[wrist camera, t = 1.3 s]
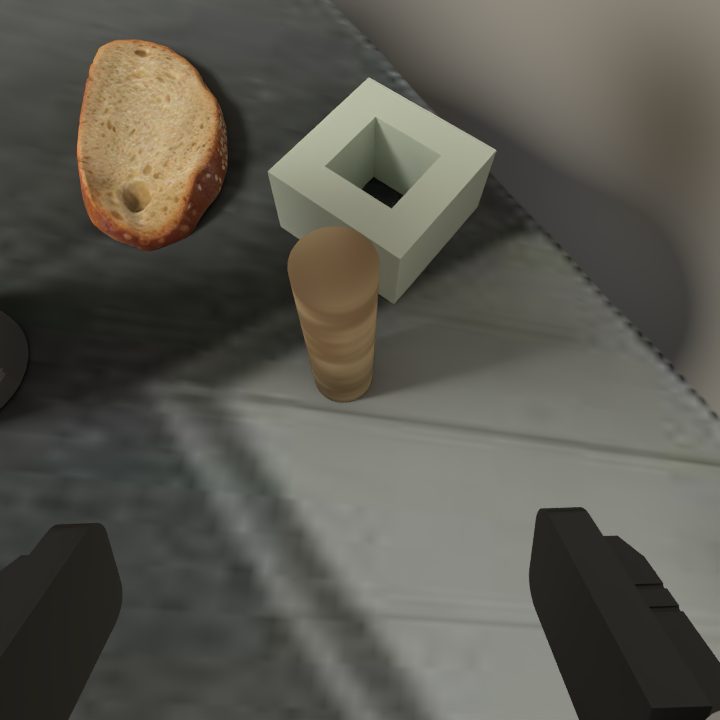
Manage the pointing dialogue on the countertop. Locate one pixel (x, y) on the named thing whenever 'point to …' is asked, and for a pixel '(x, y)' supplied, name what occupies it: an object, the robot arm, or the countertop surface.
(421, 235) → the holder
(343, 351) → the dowel
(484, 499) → the countertop surface
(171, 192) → the slice of bread
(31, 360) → the countertop surface
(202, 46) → the countertop surface
